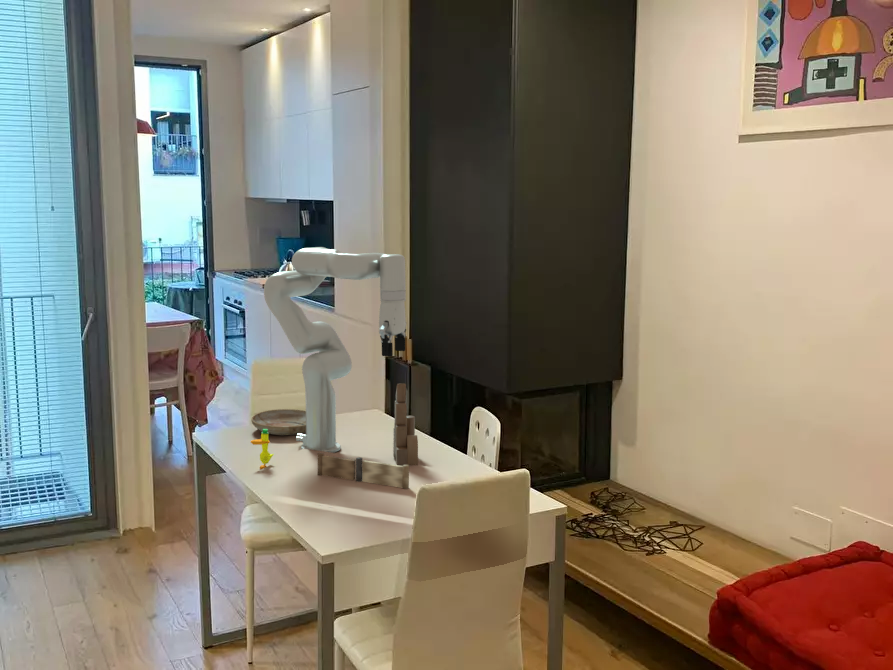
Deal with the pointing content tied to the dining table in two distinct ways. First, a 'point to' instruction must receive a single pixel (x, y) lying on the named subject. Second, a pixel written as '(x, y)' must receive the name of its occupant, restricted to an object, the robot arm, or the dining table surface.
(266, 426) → the ceramic bowl
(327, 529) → the dining table surface
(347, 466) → the fence fixed
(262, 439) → the toy figure
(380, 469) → the fence gate
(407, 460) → the wooden toy
